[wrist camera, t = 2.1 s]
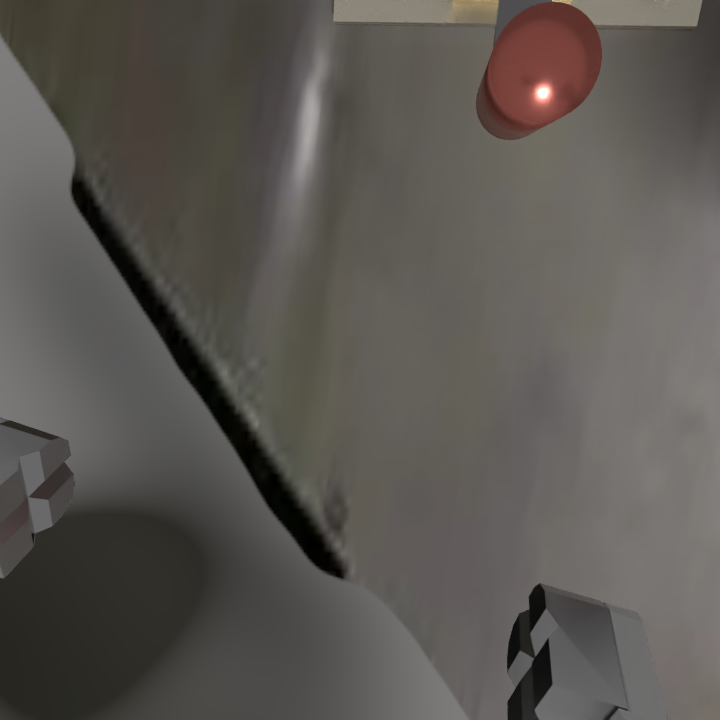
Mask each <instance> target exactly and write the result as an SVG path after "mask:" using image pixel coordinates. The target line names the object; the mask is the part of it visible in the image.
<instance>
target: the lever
mask: <svg viewBox="0 0 720 720" xmlns="http://www.w3.org/2000/svg"><path fill="white" fill-rule="evenodd" d="M552 1H553V0H498V9H497V18H496V27H495V36H494V45H493V51H492V54H491V56H490V59H489V62H488V65H487V67H486V70H485V73H484V76H483V78H482V81H481V84H480V87H479V89H478V93H477V98H476V110H477V115H478V118H479V120H480V122H481V124H482V125H483V127H484V128H485V129H486V130H487V131H488V132H489V133H490V134H492V135H493V136H495V137H497V138H500V139H504V140H515V139H520V138H523V137H526V136H528V135H530V134H531V133H533V132H535V131H537V130H539V129H541V128H543V127H544V126H546V125H548V124H550V123H552V122H554V121H555V120H557V119H559V118H561V117H563V116H565V115H566V114H568V113H570V112H571V111H573V110H574V109H575V108H577V107H578V106H579V105H580V104H581V103H582V102H583V101H584V100H585V98H586V97H587V96H588V95H589V93H590V92H591V90H592V88H593V87H594V84H595V82H596V80H597V78H598V75H599V71H600V67H601V60H602V48H601V41H600V38H599V34H598V32H597V30H596V28H595V26H594V24H593V23H592V21H591V20H590V19H589V18H588V16H587V15H586V14H584V13H583V12H582V11H581V10H579V9H577V8H576V7H574V6H571V5H569V4H566V3H561V2H552Z"/></svg>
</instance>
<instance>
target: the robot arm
mask: <svg viewBox="0 0 720 720" xmlns="http://www.w3.org/2000/svg"><path fill="white" fill-rule="evenodd" d="M70 455H71V453H70V448H69V442H68V440H65V439H63V438H61V437H58V436H54V435H52V434H49V433H46V432H43V431H40V430H37V429H34V428H31V427H28V426H25V425H22V424H19V423H16V422H13V421H10V420H7V419H3V418H0V577H1V578H4V577H6V575H7V574H8V573H9V572H10V571H11V570H12V569H13V568H14V567H15V566H16V565H17V564H18V563H19V561H20V560H21V559H22V558H23V557H24V556H25V555H26V554H27V553H28V552H29V551H30V550H31V549H32V548H33V546H34V538H35V533H37V532H39V531H42V530H44V529H46V528H49V527H51V526H53V525H54V524H55V523H56V521H57V520H58V519H59V518H60V517H61V516H62V515H63V514H64V512H65V510H66V509H67V507H68V505H69V503H70V501H71V499H72V497H73V491H74V486H75V482H74V474H73V473H72V471H71V470H70V469H69V468H68V466H67V465H66V464H65V463H64V462H65V461H66V460H67V459H68V458H69V457H70ZM507 674H508V676H509V677H510V679H511V681H512V683H513V684H514V686H515V690H514V692H513V693H512V695H511V696H510V698H509V700H508V701H507V720H668V718H667V715H666V711H665V707H664V703H663V699H662V695H661V691H660V687H659V683H658V679H657V675H656V671H655V667H654V663H653V660H652V656H651V652H650V648H649V644H648V640H647V636H646V632H645V628H644V624H643V620H642V619H641V617H640V616H639V614H638V613H637V612H634V611H630V610H627V609H624V608H620V607H617V606H614V605H611V604H607V603H602V602H601V601H599V600H596V599H592V598H589V597H585V596H582V595H578V594H575V593H572V592H568V591H565V590H561V589H558V588H555V587H551V586H548V585H544V584H541V583H539V584H538V585H536V586H535V587H534V588H533V590H532V592H531V593H530V595H529V610H526V611H524V612H521V613H519V615H518V617H517V619H516V621H515V623H514V624H513V627H512V631H511V634H510V638H509V642H508V651H507Z"/></svg>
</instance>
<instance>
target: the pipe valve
mask: <svg viewBox="0 0 720 720" xmlns="http://www.w3.org/2000/svg"><path fill="white" fill-rule="evenodd" d="M552 2H561V3H566V4H569V5H571V6H574V7H576V8H577V9H579V10H581V11H582V12H583V13H584V14H586V15H587V16H588V18H589V19H590V20H591V21H592V23H593V24H594V26H595V28H601V29H671V30H692V29H693V28H695V27H697V24H698V19H699V14H700V9H701V5H702V0H553V1H552ZM497 9H498V0H334V23H335V24H336V25H390V26H460V27H496V18H497Z"/></svg>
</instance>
